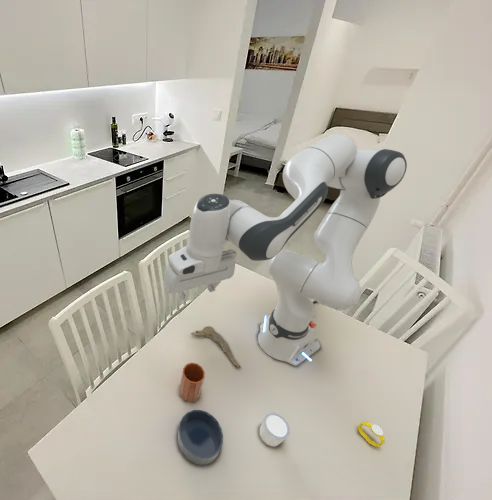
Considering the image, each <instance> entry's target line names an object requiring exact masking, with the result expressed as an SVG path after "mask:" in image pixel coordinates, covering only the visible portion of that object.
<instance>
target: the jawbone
mask: <svg viewBox="0 0 492 500" xmlns="http://www.w3.org/2000/svg"><path fill="white" fill-rule="evenodd" d="M190 335H191V336H195V337H207V338H210V339H212V340H213V341H214V342H215V343H216V344H218V346H220V348H221V350H222V352H223V353H226V355H227V357H228V358H229V359H230V361H231V362H232V363H233V365H234V366H235V367H236V368H237V369H239V368H242V367H241V365H240V364H239V363H238V361H237V360H236V359H235V358H234V357H233V355H232V353H231V350H230V347H229V345H228V344H227V342H226V340H225V339H224V338H223V337H222V335H220V334H219V333H218V332H217V331H216V330H215V328H214V327H213V326H205V327H204V328H202V329H200V330H195V332H190Z"/></svg>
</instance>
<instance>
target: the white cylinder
mask: <svg viewBox="0 0 492 500" xmlns="http://www.w3.org/2000/svg"><path fill="white" fill-rule="evenodd" d="M290 434H291V428H290V425H289V423H288V421H287V419H285V418H284V417H283V416H282V415H281V414H280V413H276V412H268V413H266V414H265V416H264V417H263V419H262V421H261V424H260V428H259V435H260V438H261V440H262V441H263V442H264V443H265V444H266V445H267V446H270V447H277V446H279V445H280V444H281V443H283V442H284V441H285V440H286V439H288V438H289V436H290Z"/></svg>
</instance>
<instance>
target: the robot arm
mask: <svg viewBox="0 0 492 500" xmlns="http://www.w3.org/2000/svg"><path fill="white" fill-rule="evenodd" d="M407 166H408V164H407V159H406V158H405V155H404V154H403V153H402V152H400V151H397V150H393V149H389V148H383V149H375V148H358V146H357V143H356V142H355V140H354V139H353V138H352V137H351V136H349V135H348V134H344V133H334V134H331V135H328V136H325V137H323V138H321V139H319V140H317V141H315V142H313V143H311V144H309V145H307V146H306V147H304V148H303V149H302V150H300V151H299V152H297V153H296V154H293V156H292V157H290V159H288V160H287V161H286V163H285V165H284V167H283V170H282V182H283V185H284V187H285V189H286V191H287V193H288V194H289V195H290V196H291V197H292V198H293V199H294V200H293V202H292V203H291V204H290V205H289V206H288V207H287V208H286V209H285V210H284V211H282V213H281V214H279V216H276V217H275V216H274V217H273V216H267V215H265V214H263V213H262V212H260V211H259V210H257V209H255V208H254V207H253V206H251V205H249V204H247V203H246V202H244V201H242V200H239V199H237V198H231V199H229V197H228V196H226V195H224V194H222V193H210V194H205V195H203V196H201V197H200V198H198V199H197V201H196V202H195V205H194V207H193V210H192V213H191V218H190V224H189V239H188V241H187V245H185V246H184V247H182V248H180V249H178V250H177V251H175V252H173V253H171V254H169V255H168V257H167V258H168V259H167V260H168V263H169V264H168V265H167V266H166V268H165V270H164V276H163V286H164V289H165V290H166V292H167V293H168V294H170V295H173V294H177V293H178V295H177V296H178V299H179V300H180V301H184V300H186V299H187V294H186V293H185V291H189V290H193V289H195V288H199V287H202V286H206V285H207V291H209V293H213V292H215V291H216V288H217V287H218V286H219V285H220V284H221V281H225V280H229V279H231V278H232V277H233V276H234V274H235V270H236V258H237V252H236V250H233V249H230V248H229V249H227V250H224V243H226V242H230V243H231V244H233V245H234V246H236V247H237V248H238V249H239V250H240V252H242V253H243V254H244V256H246V257H247V258H248V259H249V260H251V261H254V262H262V261H267V272H268V274H269V276H270V277H271V278H272V280H273V281H274V283H275V286H276V289H277V293H278V298H277V302H276V305H275V308H274V309H273V310H272V312H271V313H270V314H269V315H268V316H267V315H265V316H264V321H263V322H262V323H261V324H260V325H259V333H258V335H257V341H258V345H259V346H260V348H261V349H262V351H264V353H265V354H267V355H268V356H269V357H271V358H272V359H275V360H277V361H281V362H286V363H288V364H290V365H292V366H295V367H296V366H299V365H300V364H302V362H304V361H306V360H308V361H309V362H312V358H310V357H311V356H312V355H313V354H315V353H316V352H317V351H318V350H319V349H320V348H321V343H320V342H319V340H318V338H317V337H318V335H317V332H316V331H315V329H314V328H315V327H316V326H317V323H315V322H314V320H313V318H314V317H315V315H316V314H315V313H316V309H315V304H316V303H318V304H321V305H322V306H325V307H327V308H331V309H334V310H337V311H339V312H340V311H346V310H349V309H351V308H353V307H355V306H356V305H357V304H358V302H359V301H360V299H361V296H362V288H361V285H360V282H359V281H358V279H357V277H356V275H355V272H354V269H353V268H354V267H353V258H354V253H355V252H356V249H357V247H358V245H359V244H360V241H361V240H362V238H363V236H364V235H365V233H366V231H367V230H368V228H369V226H370V225H371V223H372V222H373V219H374V218H375V216H376V213H377V211H378V207H379V205H380V202H381V198H382V197H384V196H385V195H387V194H388V193H389V192H391V191H392V190H393V189H394V188H396V187H397V186H398V185H399V184H400V183H401V182H402V180H403V179H404V177H405V174H406V172H407V168H408V167H407ZM329 188H333V189H338V190H340V192H339V195H338V197H337V198H336V200H335V201H334V202H333V203H332V204H331V206H330V208H329V209H328V210H327V212H326V214H325V215H324V217H323V218H322V219H321V222H320V223H319V224H318V226H317V228H316V230H315V231H314V233H313V241H314V244H315V245H316V246H317V248H318V249H319V250H320V251H321V252H322V253H323V255H324V256H325V259H324V261H323V262H322V261H319V260H316V259H314V258H311V257H309V256H307V255H305V254H303V253H300V252H298V251H294V250H290V249H285V248H284V246H286V244H287V243H288V241H289V240H290V239H291V237H292V236H293V235H294V234H296V232H297V231H298V230H299V229H300V228H301V227H302V226H303V225H304V224H305V223H306V222H307V221H308V220H309V219H311V217H312V216H313V215H314V214H315V213H316V212H317V211H318V209H319V208H320V207H321V206H322V205H323V203H324V201H325V200H326V198H327V196H328V192H329Z"/></svg>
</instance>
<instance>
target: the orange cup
mask: <svg viewBox="0 0 492 500" xmlns="http://www.w3.org/2000/svg"><path fill="white" fill-rule="evenodd" d="M181 372H182V373H181V379H180V384H179V395H180V397H181V398H182V399H183V400H184V401H185V402H188V403H194V402H196V401H198V399H200V396H201V393H202V389H203V385H204V381H205V378H206V376H205V375H206V372H205V370H204V368H203V367H202V366H201V365H200V364H199V363H197V362H189V363H186V364H185V365H184V367H183V368H182V371H181Z"/></svg>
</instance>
